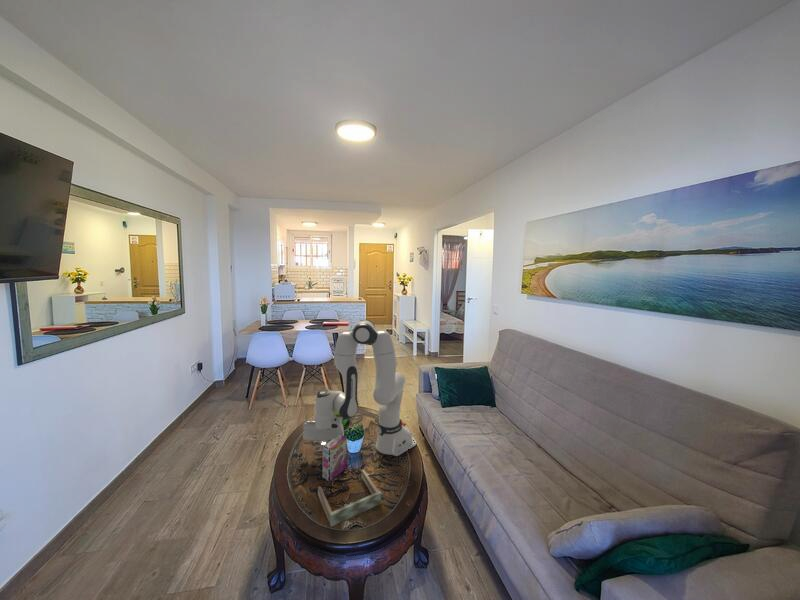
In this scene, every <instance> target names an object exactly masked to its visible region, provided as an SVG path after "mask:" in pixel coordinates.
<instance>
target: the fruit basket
mask: <svg viewBox="0 0 800 600" xmlns="http://www.w3.org/2000/svg"><path fill="white" fill-rule="evenodd" d="M334 414H335V415H334V416H336V417H340V418H341V419H342V422H341V423H342V424H343V428H345V426H346V424H347V423H348V421H349V420H350V419H343V418H342V417H341V416H340V414H338V413H337V412H334Z"/></svg>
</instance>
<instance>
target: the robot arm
mask: <svg viewBox="0 0 800 600" xmlns="http://www.w3.org/2000/svg"><path fill="white" fill-rule="evenodd" d="M359 344H360V345H367V346H371V348H372V353H373V358H374V364H375V365H374V366H375V381H374V389H373V393H372V396H373V400H374V401H375V403H376V404H378V405H379V408H378V422H377V439H376V443H375V449H376V450H377V451H378V452H379V453H381V454H382V455H391V456H394V457H398V456H400V455H402V454H404V453H405V452H407V451H408V449H409V450H410V449H412V448H414V447H415V446H417V441H416V439H415V438H414V436H413V435H412V434H413V433H412V432H411V431H410V429H409V428H408V427H406V425H407V423H406V422H405V421H404V420H402V419H401V418H400V416H401V405H402V399H403V393H404V388H405V385H406V377H405V375H403V374H402V372H399V371H397V367H398V366H397V364H398V363H397V357H396V352H395V347H394V343H393V339H392V337H391V333H390V332H388V331H386V330H377V329H376V326H375V324H374V323H373V322H372V321H371V320H369V319H361V320H359V322H357V323H356V324H355V325H354V327H353V329H352V330H351V331H343V332H340V334H339V335H338V337H337V340H336V344H335V347H334V352H333V353H334V354H333V362H334V366H335V368H336V369H337V370H338V371H339V373H340V374H341V376H342V378H343V380H344V392H343V391H341V390H331V389H330V388H329V389H328V388H324V389H321V390H319V391H318V392H317V393H316V394H315V395H316V396H315V399H314V400H315V401H314V411H315V414H314V420H313V421H312V420H311V421H310V420H306V421H304V422H303V424H302V428H303V433H302V438H303V440H305V441H308V440H309V441H318V443H319V444H320V445H319V446H320V448H323V445H324V444H326V443H327V442H328V441H329V440H332V439H334V438H335V437H337V436H338V435H342V436H344V435H345V432H344V430H345V429H344V427H343V424H342V423H341V422H342V419H341V418H340V417H336V415H334V414H335V412H337V413H338V414H340V416H341V417H342V418H343V419H349V420H350V419H353V418H354V417H355V416H356V415H357V413H358V411H359V406H360V405H359V401H358V378H359V377H358V370H357V363H356V361H357V358H356V357H357V350H358V346H359ZM344 437H345V436H344ZM413 440H414V441H413ZM414 442H415V443H414Z"/></svg>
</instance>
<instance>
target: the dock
mask: <svg viewBox="0 0 800 600" xmlns="http://www.w3.org/2000/svg"><path fill="white" fill-rule="evenodd" d="M360 476H361V477H360V478H361V480H362V481H363V483H364V485H365V486H366V487H367V489H368V490H369V493H370V494H369V495H367V496H365V497H363V498H361V499H358V500H356V501H354V502H352V503H349V504H347V505H344V506H343V507H340V508H338V509H336V510H334V511H333V510H332V508H331V506H330V503H329V502H328V499H327V497H326V494H325V493H324V490H323V488H322V486H318V487H317V497H318V499H319V501H320V504H321V506H322V508H323V511H324V513H325V515H326V518H327V520H328V522H329V525H330V527H335V526H337V525H338V524H340V523H343V522H345V521H347V520H349V519H352V518H354V517H356V516H358V515H360V514H361V513H364V512H366V511H369V510H370V509H373V508H374V507H377V506H379V505H381V504H382V492H381V490H379V489H378V488H377V487H376V485H375V484H374V482H373V480H372V479H371V478H370V476H369V474H368V472H367V471H366V470H365V469H361V475H360Z"/></svg>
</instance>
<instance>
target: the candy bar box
mask: <svg viewBox="0 0 800 600" xmlns="http://www.w3.org/2000/svg"><path fill="white" fill-rule="evenodd" d="M347 439H348V437H346V436H342V435H338V436H337V437H335V438H334V439H332V440H330V441H329V442H327V443H326V444H324V445H323V447H322V455H321V456H322V458H321V459H322V466H321V467H322V468H321V469H322V474H321V477H322V479H323V480H326V481H327V482H329V483H330V482H331V481H332V480H333V479H335V478H336V477H337V476H339V475H340V474H341V473H343V472H344V471H345V470H346V469H347V450H348V449H347V443H348V442H347V441H348V440H347Z"/></svg>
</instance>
